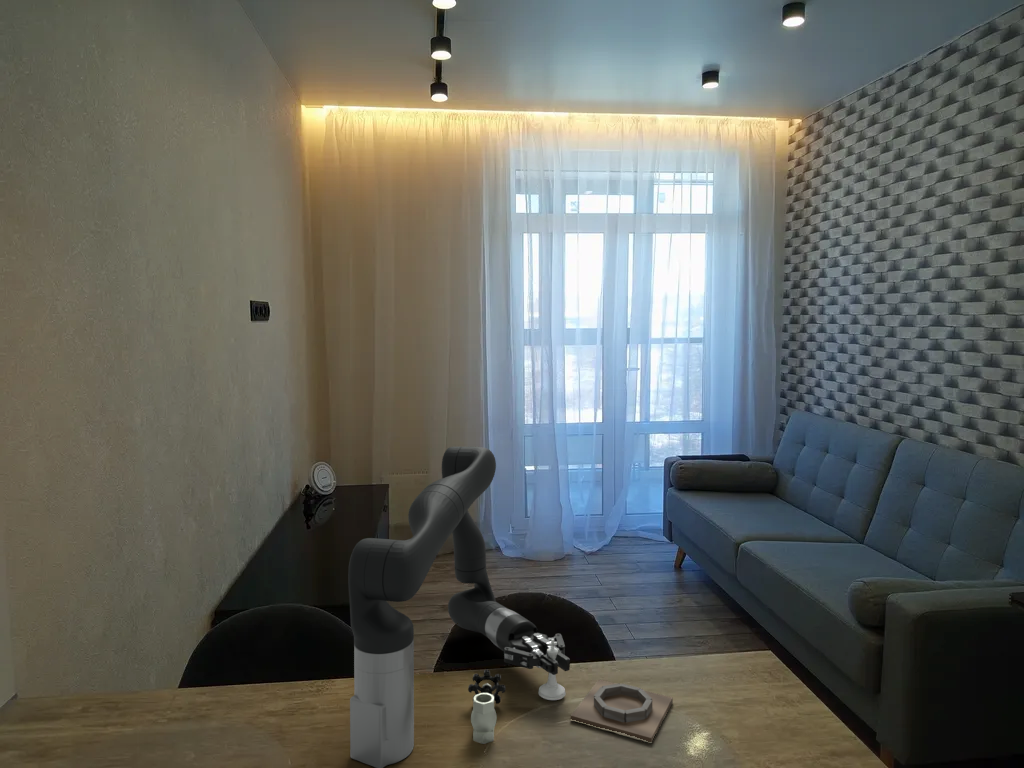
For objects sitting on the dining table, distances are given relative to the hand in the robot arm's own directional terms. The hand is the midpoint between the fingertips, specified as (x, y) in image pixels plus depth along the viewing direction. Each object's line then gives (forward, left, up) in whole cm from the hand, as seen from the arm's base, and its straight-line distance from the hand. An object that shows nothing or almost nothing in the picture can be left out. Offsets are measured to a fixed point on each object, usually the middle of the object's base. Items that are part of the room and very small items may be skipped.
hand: (562, 667), depth 114 cm
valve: (-12, +9, -7) cm, 16 cm away
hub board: (+3, -10, -7) cm, 13 cm away
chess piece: (+1, +3, -6) cm, 7 cm away
